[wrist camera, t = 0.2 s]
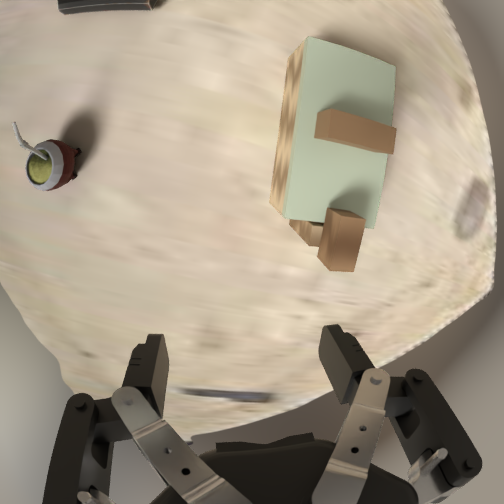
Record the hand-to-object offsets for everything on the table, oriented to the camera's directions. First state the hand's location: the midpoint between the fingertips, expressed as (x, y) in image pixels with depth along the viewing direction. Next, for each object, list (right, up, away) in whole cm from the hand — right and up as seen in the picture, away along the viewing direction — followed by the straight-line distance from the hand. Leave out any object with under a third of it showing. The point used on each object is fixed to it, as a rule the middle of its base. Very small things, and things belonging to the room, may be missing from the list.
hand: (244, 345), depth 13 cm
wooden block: (+10, +7, +19) cm, 22 cm away
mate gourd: (-28, +19, +20) cm, 39 cm away
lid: (+11, +19, +17) cm, 27 cm away
